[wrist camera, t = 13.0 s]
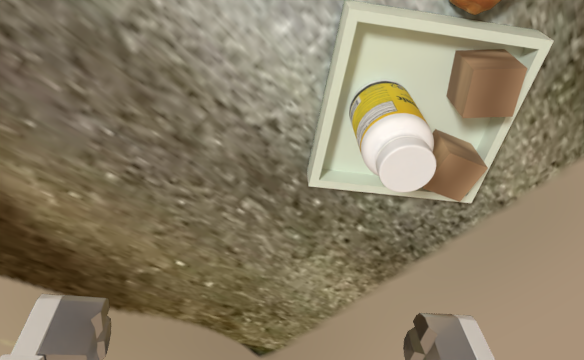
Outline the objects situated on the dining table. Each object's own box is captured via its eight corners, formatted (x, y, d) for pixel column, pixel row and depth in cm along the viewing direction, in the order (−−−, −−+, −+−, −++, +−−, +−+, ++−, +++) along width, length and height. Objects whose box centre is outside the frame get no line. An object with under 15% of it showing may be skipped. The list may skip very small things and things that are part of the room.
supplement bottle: (420, 114, 39) (457, 180, 32) (364, 143, 41) (387, 212, 33) (395, 64, 37) (430, 123, 29) (336, 97, 38) (354, 161, 30)
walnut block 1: (446, 95, 38) (462, 118, 35) (455, 50, 36) (473, 69, 33) (492, 94, 39) (512, 116, 35) (504, 48, 36) (527, 68, 33)
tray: (306, 170, 43) (308, 186, 41) (344, -1, 34) (349, 8, 32) (462, 187, 45) (471, 203, 43) (537, 30, 36) (553, 40, 34)
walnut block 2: (411, 163, 42) (422, 188, 39) (435, 128, 40) (450, 152, 37) (445, 176, 44) (459, 202, 40) (471, 143, 41) (488, 168, 38)
